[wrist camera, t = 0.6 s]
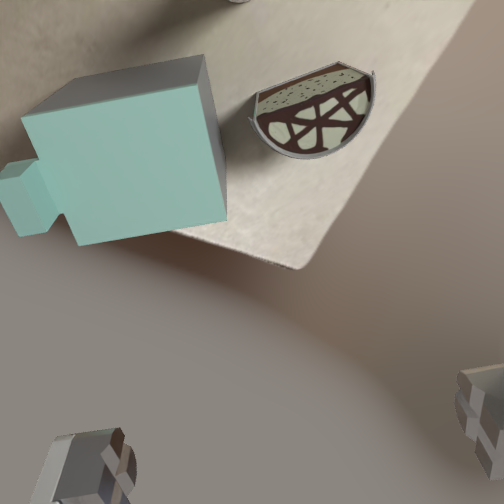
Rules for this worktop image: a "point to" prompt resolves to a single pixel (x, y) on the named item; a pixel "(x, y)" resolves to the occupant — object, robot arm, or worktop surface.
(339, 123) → the food container
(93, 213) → the lid
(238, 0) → the cosmetic bottle
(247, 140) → the worktop surface
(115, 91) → the tub
